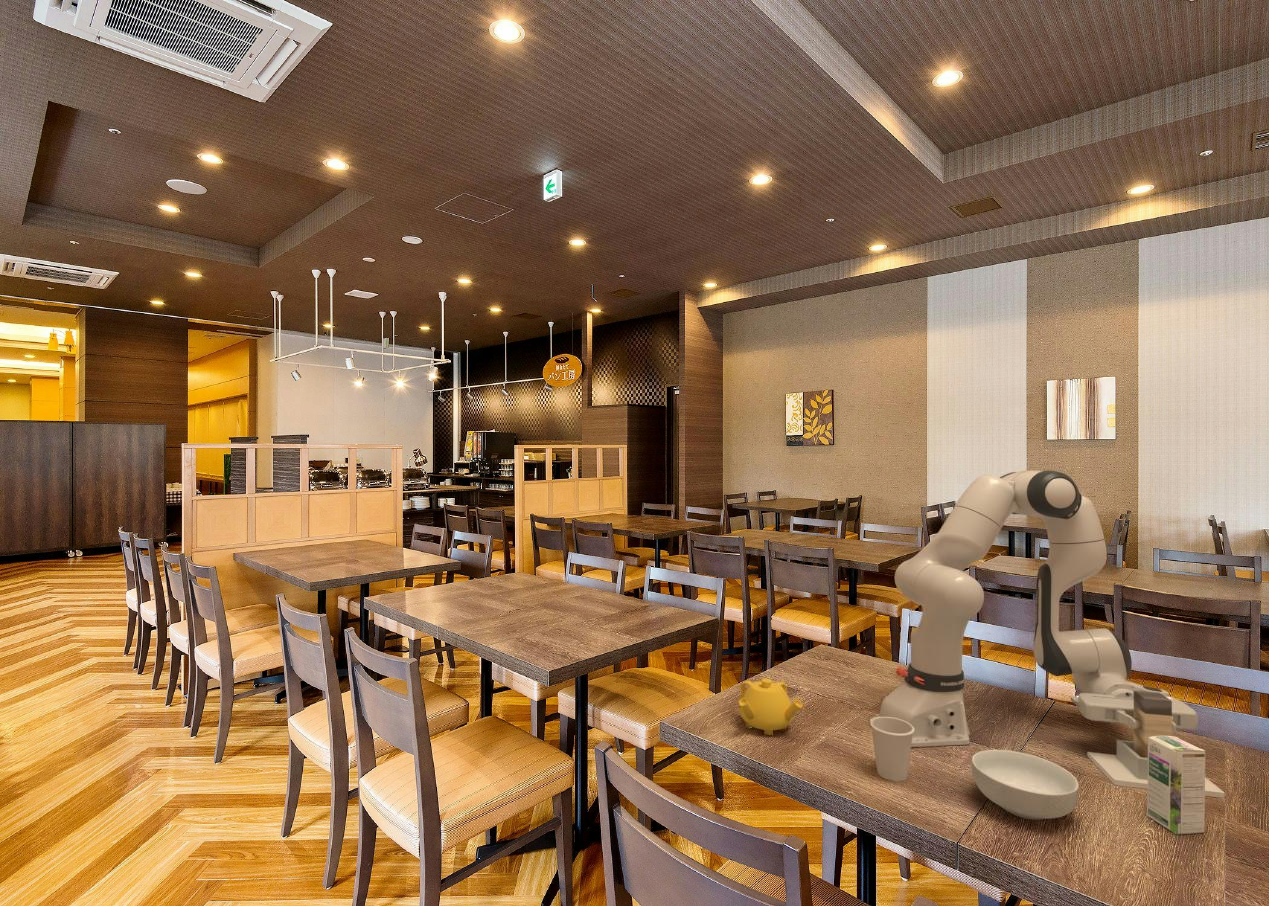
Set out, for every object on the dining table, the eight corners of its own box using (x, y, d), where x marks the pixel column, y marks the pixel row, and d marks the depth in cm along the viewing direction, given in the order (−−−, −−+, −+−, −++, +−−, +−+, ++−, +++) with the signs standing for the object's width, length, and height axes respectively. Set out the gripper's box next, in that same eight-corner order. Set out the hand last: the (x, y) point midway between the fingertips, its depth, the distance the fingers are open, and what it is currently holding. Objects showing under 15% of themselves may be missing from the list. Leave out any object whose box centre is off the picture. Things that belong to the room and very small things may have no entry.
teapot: (739, 739, 142) (739, 690, 142) (733, 714, 155) (733, 670, 155) (803, 742, 141) (803, 693, 141) (791, 716, 155) (792, 671, 155)
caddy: (1224, 798, 118) (1224, 772, 118) (1114, 785, 123) (1114, 759, 123) (1186, 767, 130) (1186, 743, 130) (1087, 756, 134) (1087, 733, 134)
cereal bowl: (1102, 826, 109) (1102, 786, 109) (1029, 843, 105) (1029, 801, 105) (1018, 778, 126) (1018, 743, 126) (951, 790, 121) (951, 754, 121)
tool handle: (1172, 771, 124) (1171, 701, 124) (1145, 768, 125) (1145, 698, 125) (1159, 760, 128) (1159, 692, 128) (1133, 757, 129) (1133, 690, 129)
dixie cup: (923, 780, 124) (923, 730, 124) (890, 788, 121) (890, 736, 121) (893, 761, 132) (893, 714, 132) (861, 767, 129) (861, 719, 129)
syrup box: (1145, 816, 112) (1145, 735, 112) (1175, 814, 113) (1175, 734, 113) (1175, 835, 107) (1175, 750, 107) (1206, 833, 107) (1207, 749, 107)
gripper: (1067, 682, 142) (1095, 705, 128) (1173, 690, 136) (1214, 716, 123) (1067, 709, 142) (1095, 736, 128) (1174, 719, 136) (1214, 748, 123)
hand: (1154, 726), depth 126 cm, fingers closed on tool handle, 4 cm apart
